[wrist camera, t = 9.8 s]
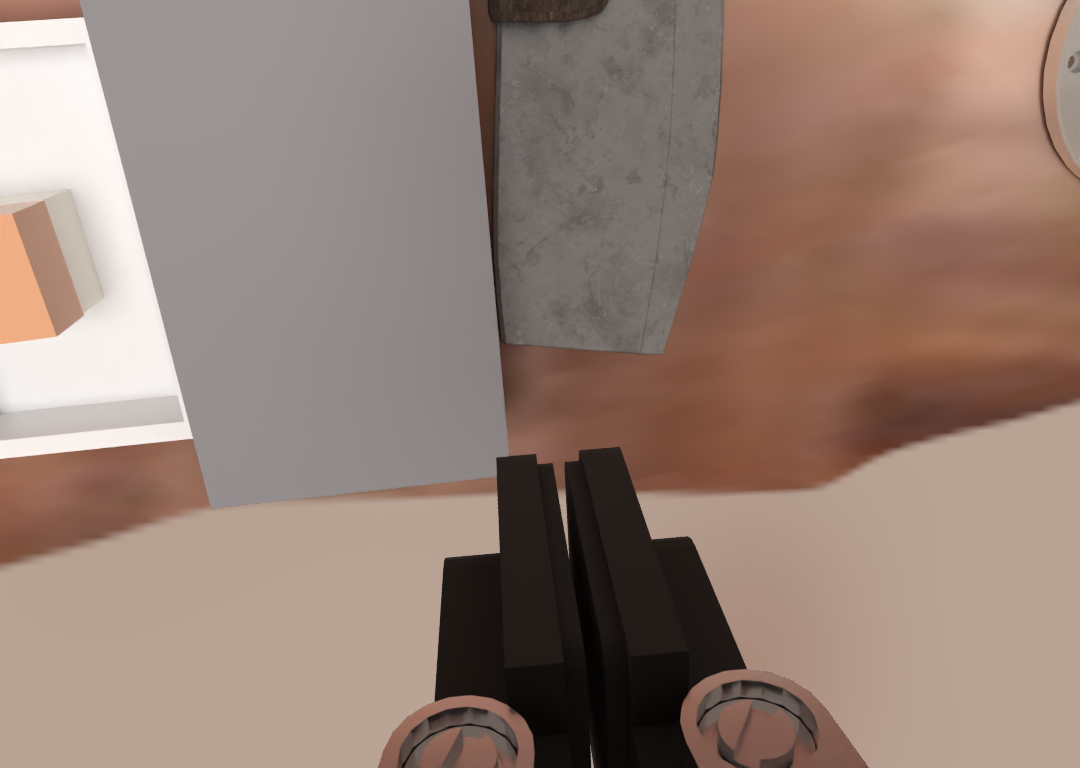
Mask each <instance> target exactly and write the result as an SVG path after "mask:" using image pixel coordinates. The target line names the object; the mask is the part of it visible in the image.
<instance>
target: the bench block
mask: <svg viewBox="0 0 1080 768" xmlns="http://www.w3.org/2000/svg"><path fill="white" fill-rule="evenodd" d="M79 1H80V4H81V8H82V12H83V16H84V20H85V24H86V28H87V31H88V35H89V39H90V43H91V47H92V51H93V55H94V58H95V62H96V66H97V70H98V74H99V78H100V82H101V85H102V89H103V93H104V97H105V101H106V105H107V109H108V112H109V116H110V120H111V124H112V128H113V132H114V136H115V139H116V143H117V147H118V151H119V155H120V159H121V163H122V166H123V170H124V174H125V178H126V182H127V186H128V190H129V193H130V197H131V201H132V205H133V209H134V213H135V217H136V220H137V224H138V228H139V232H140V236H141V240H142V244H143V247H144V251H145V255H146V259H147V263H148V267H149V271H150V274H151V278H152V282H153V286H154V290H155V294H156V298H157V301H158V305H159V309H160V313H161V317H162V321H163V325H164V328H165V332H166V336H167V340H168V344H169V348H170V352H171V355H172V359H173V363H174V367H175V371H176V375H177V379H178V382H179V386H180V390H181V394H182V398H183V402H184V406H185V409H186V413H187V417H188V421H189V425H190V429H191V433H192V436H193V440H194V444H195V448H196V452H197V456H198V460H199V463H200V467H201V471H202V475H203V479H204V483H205V487H206V490H207V494H208V498H209V502H210V506H211V509H213V508H222V507H231V506H240V505H249V504H258V503H267V502H276V501H285V500H294V499H303V498H311V497H320V496H329V495H338V494H347V493H356V492H365V491H374V490H383V489H392V488H401V487H410V486H418V485H427V484H436V483H445V482H454V481H463V480H472V479H481V478H490V477H497V466H496V457H507V456H509V449H508V437H507V426H506V415H505V403H504V392H503V381H502V369H501V358H500V347H499V335H498V324H497V313H496V301H495V290H494V279H493V267H492V256H491V245H490V233H489V222H488V211H487V199H486V188H485V176H484V165H483V154H482V142H481V131H480V120H479V108H478V97H477V86H476V74H475V63H474V52H473V40H472V29H471V18H470V6H469V0H79Z"/></svg>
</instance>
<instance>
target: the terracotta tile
mask: <svg viewBox="0 0 1080 768" xmlns="http://www.w3.org/2000/svg"><path fill="white" fill-rule="evenodd" d="M83 316H84V313H83V311H82V308H81V305H80V302H79V299H78V296H77V293H76V290H75V287H74V285H73V282H72V279H71V276H70V273H69V270H68V267H67V264H66V262H65V259H64V256H63V253H62V250H61V247H60V244H59V241H58V239H57V236H56V233H55V230H54V227H53V224H52V221H51V218H50V215H49V213H48V210H47V207H46V204H45V201H36V202H28V203H20V204H12V205H4V206H0V344H7V343H14V342H21V341H29V340H36V339H44V338H51V337H57V336H58V335H60V334H61V333H62V332H64V331H65V330H66V329H67V328H69V327H70V326H71V325H73V324H74V323H75V322H76V321H78V320H79V319H80V318H82V317H83Z"/></svg>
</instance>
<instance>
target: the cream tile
mask: <svg viewBox="0 0 1080 768" xmlns="http://www.w3.org/2000/svg"><path fill="white" fill-rule="evenodd" d="M36 201H45V204H46V207H47V210H48V213H49V215H50V218H51V221H52V224H53V227H54V230H55V233H56V236H57V239H58V241H59V244H60V247H61V250H62V253H63V256H64V259H65V262H66V264H67V267H68V270H69V273H70V276H71V279H72V282H73V285H74V287H75V290H76V293H77V296H78V299H79V302H80V305H81V308H82V311H83V313H84V312H86V311H87V310H88V309H89V308H91V307H92V306H93V305H95V304H96V303H97V302H99V301H100V300H101V299H102V298H104V294H103V291H102V287H101V284H100V281H99V278H98V275H97V272H96V269H95V266H94V262H93V259H92V256H91V253H90V250H89V247H88V244H87V241H86V238H85V234H84V231H83V228H82V225H81V222H80V219H79V216H78V213H77V209H76V206H75V203H74V200H73V197H72V194H71V191H70V189H63V190H54V191H45V192H36V193H27V194H18V195H9V196H0V206H4V205H12V204H20V203H28V202H36Z"/></svg>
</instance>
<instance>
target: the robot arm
mask: <svg viewBox="0 0 1080 768" xmlns="http://www.w3.org/2000/svg"><path fill="white" fill-rule="evenodd" d="M1043 103H1044V110H1045V117H1046V124H1047V128H1048V130H1049V133H1050V136H1051V139H1052V141H1053V144H1054V147H1055V149H1056V151H1057V152H1058V154H1059V155H1060V157H1061V158H1062V160H1063V161H1064V163H1065V164H1066V166H1067V167H1068V168H1069V169H1070V170H1071V171H1072V172H1073V173H1074V174H1075V175H1076V176H1077V177H1079V178H1080V0H1067V2H1066V3H1065V5H1064V7H1063V9H1062V11H1061V14H1060V16H1059V19H1058V22H1057V24H1056V27H1055V30H1054V32H1053V35H1052V38H1051V40H1050V45H1049V50H1048V55H1047V59H1046V64H1045V69H1044V86H1043ZM496 466H497V490H498V514H499V540H500V553H496V554H484V555H473V556H461V557H450V558H445V560H444V568H443V582H442V598H441V612H440V628H439V644H438V658H437V673H436V689H435V702H434V703H431V704H428V705H426V706H424V707H422V708H421V709H419V710H418V711H416V712H414V713H413V714H411V715H410V716H408V717H407V718H406V719H405V720H404V721H403V722H402V723H401V724H400V725H399V726H398V727H397V728H396V730H395V731H394V732H393V733H392V735H391V737H390V739H389V741H388V743H387V744H386V746H385V748H384V750H383V753H382V757H381V759H380V763H379V766H378V768H591V752H592V757H593V764H594V768H869V767H868V766H867V764H866V763H865V761H864V760H863V759H862V757H861V756H860V755H859V753H858V752H857V750H856V749H855V748H854V746H853V745H852V744H851V742H850V741H849V739H848V738H847V737H846V735H845V734H844V732H843V731H842V730H841V728H840V727H839V726H838V724H837V723H836V721H835V720H834V719H833V717H832V716H831V714H830V713H829V712H828V710H827V709H826V708H825V706H823V704H822V703H821V702H820V701H819V700H818V699H817V698H816V697H815V696H814V695H813V694H812V693H811V692H810V691H808V690H807V689H805V688H803V687H802V686H800V685H798V684H797V683H795V682H794V681H792V680H790V679H787V678H785V677H782V676H779V675H776V674H773V673H771V672H765V671H758V670H750V669H747V668H746V666H745V663H744V661H743V659H742V656H741V654H740V652H739V649H738V647H737V644H736V642H735V640H734V637H733V635H732V633H731V630H730V628H729V625H728V623H727V621H726V618H725V616H724V614H723V611H722V609H721V606H720V604H719V602H718V599H717V597H716V595H715V592H714V590H713V587H712V585H711V583H710V580H709V578H708V576H707V573H706V571H705V568H704V566H703V564H702V561H701V559H700V557H699V554H698V552H697V550H696V547H695V545H694V543H693V541H692V539H691V538H689V537H688V536H687V537H676V538H664V539H653V540H651V537H650V534H649V531H648V528H647V525H646V522H645V519H644V516H643V513H642V510H641V507H640V504H639V501H638V499H637V496H636V493H635V490H634V487H633V484H632V481H631V478H630V475H629V472H628V469H627V466H626V463H625V460H624V457H623V454H622V451H621V449H620V447H614V448H602V449H590V450H580V451H579V461H573V462H565V485H566V504H567V523H568V542H569V556H568V550H567V545H566V539H565V533H564V527H563V521H562V516H561V509H560V504H559V498H558V492H557V486H556V480H555V474H554V469H553V463H549V464H537V458H536V454H531V455H519V456H507V457H496ZM590 745H591V752H590Z"/></svg>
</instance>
